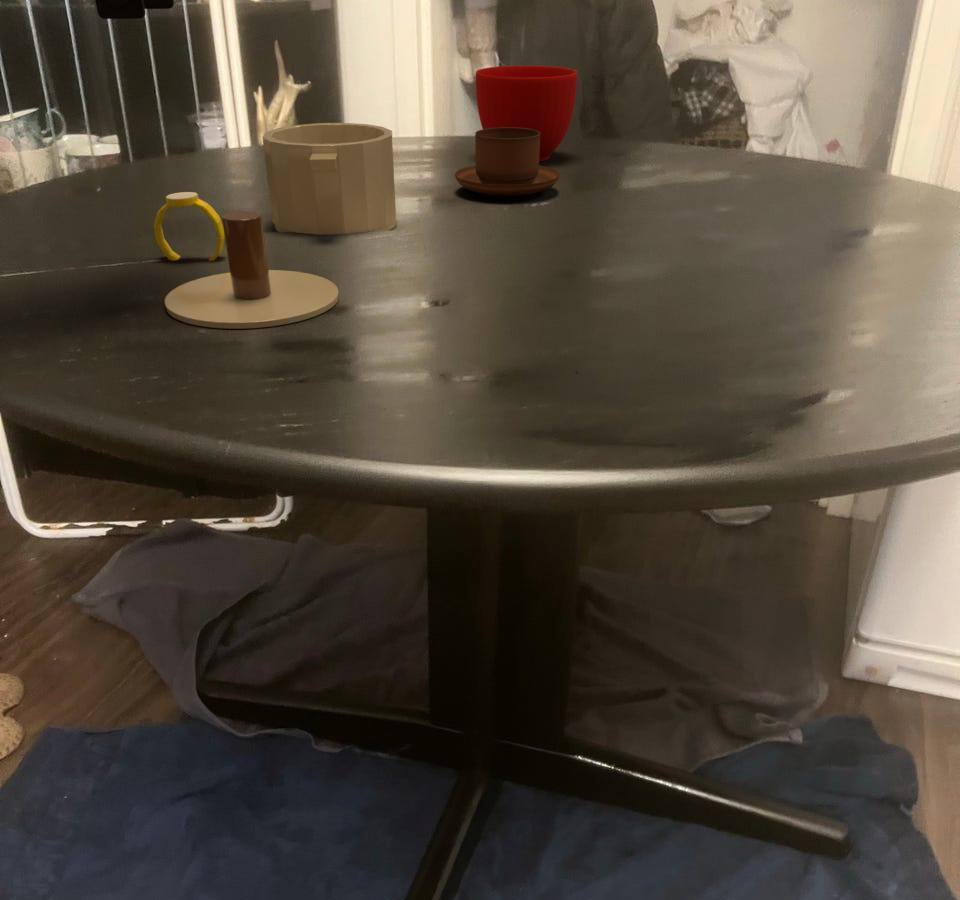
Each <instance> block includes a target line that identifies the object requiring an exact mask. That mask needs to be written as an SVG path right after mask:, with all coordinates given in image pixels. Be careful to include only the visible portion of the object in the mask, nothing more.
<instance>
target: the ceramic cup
mask: <svg viewBox="0 0 960 900" xmlns="http://www.w3.org/2000/svg"><path fill="white" fill-rule="evenodd" d="M577 85H578V71H577V70H576V69H573V68H568V67H562V66H552V65H551V66H550V65H500V66H489V67H483V68H480V69H477V70H476V71H475V93H476V94H475V95H476V102H477V104H476V105H477V111H478V112H477V113H478V117H479V122H480V125H481V128H482V129H487V128H498V127H516V128H528V129H533V130H537V131H539V132H540V151H539V162H544V161H547V160H549V159H550V157H551V155H552V154H553V153H554V152H555V151H556V149H558V147H559V146H560V144H561V143H562V141H563V140H564V138H565V136H566V134H567V132H568V130H569V127H570V124H571V121H572V117H573V114H574V110H575V109H574V108H575V104H576V103H575V102H576V94H577V87H578V86H577Z"/></svg>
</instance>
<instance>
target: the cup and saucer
mask: <svg viewBox="0 0 960 900" xmlns="http://www.w3.org/2000/svg"><path fill="white" fill-rule="evenodd" d="M474 135H475V136H474V138H475V139H474V140H475V142H474V143H475V145H474V146H475V148H474V149H475V165H471V166H466V167H463V168H460V169H458V170H457V171H455V173H454V176H455V180H456V181H457V182H458V183H459V185H460V186H461V187H463V188H464V189H466V190H469V191H471V192H473V193H477V194H482V195H488V196H495V197H520V196H528V195H533V194H537V193H542V192H544V191H546V190H549V189H550V188H552V187H554V185H555V184H556V183H557V182H558V181H559V179H560V178H559V177H560V172H558V171H557V170H556V169H554V168H551V167H547V166H542V165H540V161H539V151H540V132H539V131H537V130H533V129H528V128H516V127H498V128H487V129H483V128H482V129H479V130H477V131H475V133H474Z"/></svg>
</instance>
